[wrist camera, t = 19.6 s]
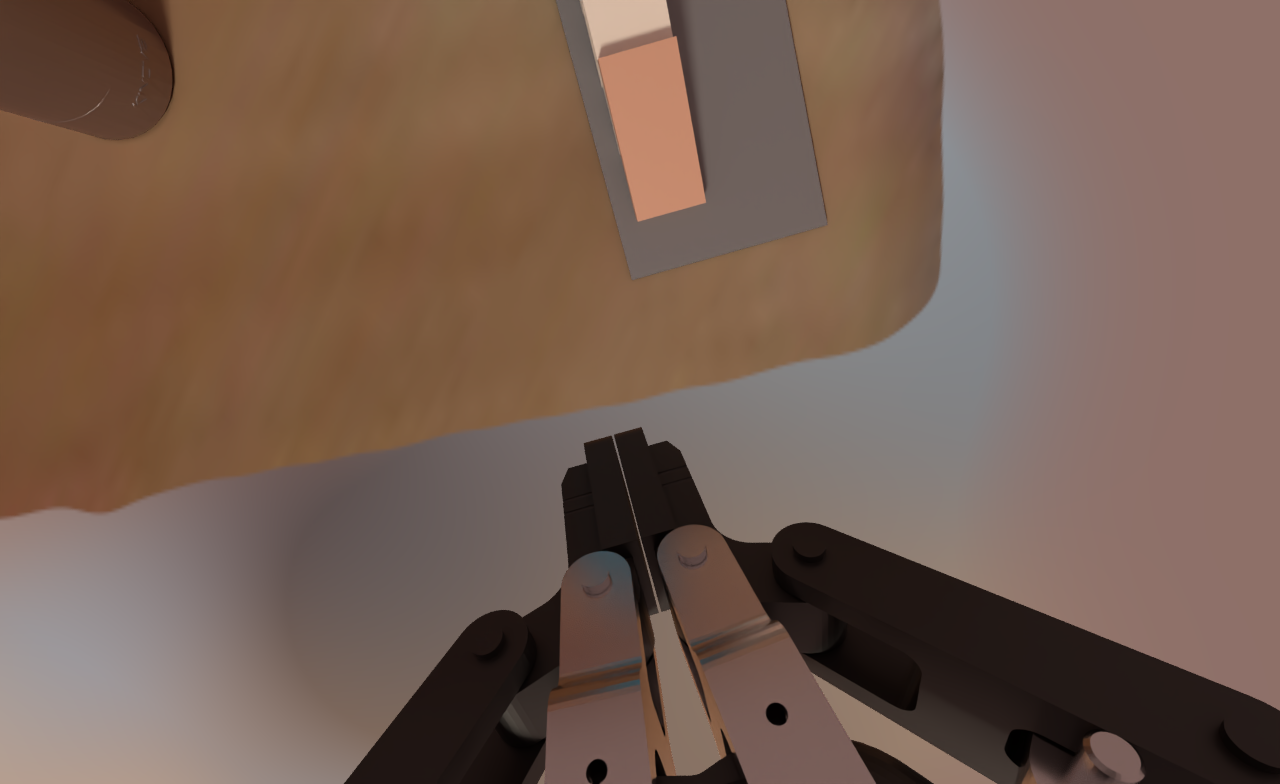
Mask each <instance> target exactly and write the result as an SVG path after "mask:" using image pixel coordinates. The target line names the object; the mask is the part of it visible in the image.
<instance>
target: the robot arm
mask: <svg viewBox="0 0 1280 784" xmlns="http://www.w3.org/2000/svg"><path fill="white" fill-rule="evenodd" d="M171 91H172V68H171V64H170V60H169V55H168V53H167V50H166V48H165V46H164V43H163V41H162V39H161V37H160V36H159V34H158V32H157V31H156V29H155V28H154V26H153V25H152V23H151V22H150V21H149V20H148V19H147V18H146V17H145V16H144V15H143V14H142V13H141V12H140V11H139V10H138V9H137V8H135V7H134V6H133V5H131V4H130V3H129V2H127V1H126V0H0V110H2V111H6V112H10V113H13V114H17V115H20V116H24V117H27V118H30V119H33V120H37V121H41V122H44V123H48V124H52V125H55V126H59V127H63V128H66V129H70V130H74V131H77V132H81V133H85V134H88V135H92V136H95V137H99V138H103V139H112V140H122V139H128V138H134V137H136V136H138V135H141V134H143V133H145V132H147V131H148V130H149V129H150V128H152V127H153V126H154V125H156V124H157V122H158V121H159V120H160V118H161V117H162V116H163V114H164V113H165V111H166V108H167V106H168V104H169V101H170V97H171ZM614 437H615V441H616V444H617V448H618V452H619V456H620V459H621V464H622V467H623V471H624V475H625V479H626V483H627V487H628V490H629V494H630V498H631V502H632V506H633V509H634V513H635V517H636V521H637V525H638V529H639V532H640V536H641V540H642V544H643V547H644V551H645V554H646V558H647V562H648V565H649V569H650V572H651V576H652V579H653V583H654V586H655V590H656V594H657V597H658V601H659V604H660V608H661V611H666V610H669V609H670V610H671V614H672V617H673V621H674V624H675V628H676V631H677V635H678V639H679V643H680V646H681V649H682V652H683V654H684V657H685V659H686V662H687V665H688V668H689V670H690V673H691V676H692V679H693V681H694V684H695V687H696V689H697V692H698V694H699V697H700V700H701V703H702V706H703V708H704V711H705V714H706V717H707V719H708V722H709V724H710V727H711V730H712V733H713V736H714V739H715V741H716V745H717V748H718V752H719V755H720V758H721V760H719V761H718V762H716V763H715V764H714V765H712V766H711V767H709V768H708V769H706V770H705V771H704V772H702V773H700V774H697V775H692V776H677V775H676V770H675V766H674V761H673V757H672V752H671V747H670V742H669V736H668V729H667V722H666V716H665V710H664V703H663V696H662V689H661V683H660V676H659V670H658V663H657V657H656V651H655V648H654V644H655V639H654V633H653V629H652V625H651V620H650V615H653V614H657V613H658V609H657V605H656V601H655V597H654V593H653V589H652V585H651V581H650V578H649V574H648V570H647V566H646V562H645V558H644V554H643V550H642V547H641V543H640V539H639V535H638V531H637V527H636V523H635V519H634V515H633V511H632V508H631V504H630V500H629V496H628V492H627V489H626V485H625V481H624V478H623V474H622V471H621V467H620V464H619V460H618V456H617V453H616V450H615V446H614V442H613V439H612V436H608V437H605V438H601V439H598V440H594V441H590V442H586V443H584V447H585V454H586V460H587V463H586V464H583V465H579V466H575V467H572V468H569V469H568V470H567V473H566V475H565V477H564V480H563V482H562V485H561V486H562V496H563V508H564V515H565V516H564V519H565V530H566V540H567V553H568V564H569V565H568V568H569V569H568V570H567V571H566V573H565V575H564V577H563V580H562V584H561V588H560V590H559V591H558V592H557V593H556V595H555V596H553V597H552V598H551V599H550V600H549V601H548V602H546V603H545V604H543V605H542V606H540V607H539V608H537V609H535V610H534V611H532V612H531V613H529V614H527V615H526V616H524V617H523V618H522V617H521V616H520V615H518V614H517V613H515V612H513V611H509V610H499V611H494V612H490V613H488V614H485V615H483V616H481V617H480V618H478V619H477V620H475V621H474V622H472V623H471V624H470V625H469V626H468V627H467V628H466V629H465V630H464V631H463V633H462V634H461V635H460V636H459V638H458V639H457V640H456V642H455V643H454V644H453V645H452V647H451V648H450V649H449V650H448V652H447V653H446V654H445V656H444V657H443V658H442V659H441V661H440V662H439V663H438V665H437V666H436V667H435V669H434V670H433V671H432V672H431V673H430V675H429V676H428V677H427V678H426V680H425V681H424V682H423V684H422V685H421V686H420V687H419V689H418V690H417V691H416V693H415V694H414V695H413V696H412V698H411V699H410V700H409V702H408V703H407V704H406V705H405V707H404V708H403V709H402V710H401V712H400V713H399V714H398V715H397V717H396V718H395V719H394V721H393V722H392V723H391V724H390V726H389V727H388V728H387V729H386V731H385V732H384V733H383V735H382V736H381V737H380V738H379V740H378V741H377V742H376V743H375V745H374V746H373V747H372V749H371V750H370V751H369V752H368V754H367V755H366V756H365V757H364V759H363V760H362V761H361V763H360V764H359V765H358V766H357V768H356V769H355V770H354V772H353V773H352V774H351V775H350V777H349V778H348V779H347V781H346V782H345V783H344V784H537V783H538V781H539V779H540V777H541V776H542V774H543V772H544V770H545V784H933V783H932V782H930V781H929V780H927V779H926V778H924V777H923V776H922V775H920V774H919V773H917V772H916V771H914V770H913V769H911V768H910V767H908V766H907V765H905V764H904V763H902V762H901V761H899V760H898V759H896V758H894V757H892V756H890V755H888V754H887V753H884V752H883V751H881V750H879V749H877V748H874V747H871V746H869V745H866V744H864V743H861V742H857V741H853V740H850V738H849V737H848V735H847V733H846V731H845V730H844V728H843V726H842V724H841V723H840V721H839V719H838V718H837V716H836V714H835V713H834V711H833V709H832V707H831V706H830V704H829V702H828V701H827V699H826V697H825V695H824V694H823V692H822V690H821V689H820V687H819V685H818V683H817V682H816V680H815V679H814V677H813V675H812V673H814V674H815V675H817V676H818V677H820V678H822V679H823V680H825V681H827V682H829V683H830V684H832V685H834V686H835V687H837V688H838V689H840V690H842V691H844V692H845V693H847V694H848V695H850V696H852V697H854V698H855V699H857V700H859V701H860V702H862V703H864V704H865V705H867V706H868V707H870V708H872V709H873V710H875V711H877V712H879V713H880V714H882V715H884V716H885V717H887V718H889V719H891V720H892V721H894V722H895V723H897V724H899V725H900V726H902V727H904V728H906V729H907V730H909V731H910V732H912V733H914V734H915V735H917V736H919V737H921V738H922V739H924V740H925V741H927V742H929V743H930V744H932V745H934V746H935V747H937V748H939V749H940V750H942V751H944V752H946V753H947V754H949V755H951V756H952V757H954V758H956V759H957V760H959V761H960V762H962V763H964V764H965V765H967V766H969V767H971V768H972V769H974V770H976V771H977V772H979V773H981V774H982V775H984V776H986V777H987V778H989V779H991V780H992V781H994V782H996V783H997V784H1280V711H1279V710H1277V709H1276V708H1274V707H1272V706H1270V705H1268V704H1266V703H1264V702H1262V701H1260V700H1257V699H1255V698H1253V697H1251V696H1249V695H1246V694H1243V693H1241V692H1239V691H1236V690H1233V689H1231V688H1229V687H1226V686H1224V685H1221V684H1219V683H1216V682H1213V681H1211V680H1208V679H1206V678H1204V677H1201V676H1198V675H1196V674H1193V673H1191V672H1188V671H1186V670H1184V669H1181V668H1179V667H1176V666H1174V665H1171V664H1169V663H1166V662H1164V661H1161V660H1159V659H1156V658H1154V657H1151V656H1149V655H1146V654H1144V653H1141V652H1139V651H1136V650H1134V649H1131V648H1129V647H1126V646H1123V645H1121V644H1119V643H1116V642H1114V641H1111V640H1109V639H1106V638H1103V637H1101V636H1098V635H1096V634H1094V633H1091V632H1088V631H1086V630H1084V629H1081V628H1079V627H1076V626H1074V625H1071V624H1069V623H1066V622H1064V621H1061V620H1059V619H1056V618H1054V617H1051V616H1049V615H1046V614H1044V613H1041V612H1039V611H1036V610H1033V609H1031V608H1029V607H1026V606H1024V605H1021V604H1018V603H1016V602H1014V601H1011V600H1009V599H1006V598H1004V597H1001V596H999V595H996V594H993V593H991V592H989V591H986V590H983V589H981V588H979V587H976V586H974V585H971V584H969V583H966V582H964V581H961V580H959V579H956V578H954V577H951V576H949V575H946V574H944V573H941V572H939V571H936V570H934V569H931V568H929V567H926V566H924V565H921V564H919V563H916V562H914V561H911V560H909V559H906V558H904V557H901V556H899V555H896V554H894V553H891V552H889V551H886V550H884V549H881V548H879V547H876V546H874V545H871V544H869V543H866V542H864V541H861V540H859V539H856V538H854V537H851V536H849V535H846V534H844V533H841V532H839V531H836V530H834V529H831V528H829V527H826V526H823V525H820V524H816V523H807V522H805V523H797V524H792V525H790V526H787V527H785V528H783V529H782V530H781V531H780V532H778V533H777V535H776V536H775V537H774V539H773V541H772V543H745V542H739V541H735V540H732V539H730V538H728V537H726V536H724V535H723V534H721V533H720V532H719V531H718V530H717V529H716V528H715V527H714V525H713V524H712V522H711V520H710V518H709V515H708V513H707V511H706V508H705V506H704V504H703V502H702V499H701V497H700V495H699V492H698V490H697V488H696V486H695V483H694V481H693V479H692V477H691V474H690V472H689V470H688V468H687V465H686V463H685V460H684V458H683V456H682V454H681V451H680V450H679V449H677V448H676V447H675V446H673V445H672V444H671V443H669V442H668V441H664V442H660V443H657V444H653V445H650V446H648V444H647V442H646V439H645V436H644V433H643V430H642V428H641V427H640V428H636V429H633V430H629V431H626V432H622V433H618V434H615V435H614ZM811 672H812V673H811Z"/></svg>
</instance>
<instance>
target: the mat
mask: <svg viewBox="0 0 1280 784" xmlns="http://www.w3.org/2000/svg"><path fill="white" fill-rule="evenodd" d="M666 2H667V8H668V13H669V19H670V24H671V30H672V35H673V37H675V36H677V42H678V48H679V53H680V59H681V65H682V70H683V76H684V81H685V87H686V93H687V98H688V104H689V109H690V115H691V121H692V126H693V132H694V138H695V143H696V149H697V154H698V160H699V166H700V171H701V177H702V182H703V188H704V194H705V199H706V203H703V204H700V205H696V206H692V207H689V208H685V209H682V210H678V211H674V212H671V213H667V214H664V215H660V216H657V217H653V218H649V219H646V220H642V221H639V222H638V221H637V220H636V216H635V212H634V208H633V204H632V200H631V196H630V192H629V188H628V183H627V179H626V175H625V171H624V167H623V163H622V159H621V155H620V154H619V150H618V146H617V142H616V138H615V134H614V130H613V125H612V121H611V117H610V113H609V109H608V105H607V101H606V97H605V93H604V89H603V87H602V86H601V82H600V78H599V74H598V70H597V66H596V62H595V58H594V54H593V50H592V46H591V42H590V38H589V34H588V30H587V26H586V22H585V18H584V14H583V13H582V9H581V4H580V0H556V3H557V6H558V10H559V14H560V17H561V21H562V25H563V28H564V32H565V36H566V39H567V43H568V47H569V50H570V54H571V58H572V61H573V65H574V69H575V72H576V76H577V80H578V83H579V87H580V91H581V94H582V98H583V102H584V105H585V109H586V113H587V116H588V120H589V124H590V127H591V131H592V135H593V138H594V142H595V146H596V150H597V153H598V157H599V161H600V164H601V168H602V172H603V175H604V179H605V183H606V186H607V190H608V194H609V197H610V201H611V205H612V208H613V212H614V216H615V219H616V223H617V227H618V230H619V234H620V238H621V241H622V245H623V249H624V252H625V256H626V260H627V263H628V267H629V271H630V274H631V278H632V280H634V279H638V278H641V277H645V276H648V275H652V274H655V273H659V272H663V271H666V270H670V269H673V268H677V267H680V266H684V265H687V264H691V263H694V262H698V261H702V260H705V259H709V258H712V257H716V256H719V255H723V254H726V253H730V252H733V251H737V250H741V249H744V248H748V247H751V246H755V245H758V244H762V243H765V242H769V241H772V240H776V239H779V238H783V237H787V236H790V235H794V234H797V233H801V232H804V231H808V230H811V229H815V228H818V227H822V226H826V225H827V219H826V214H825V209H824V203H823V198H822V193H821V187H820V182H819V176H818V171H817V166H816V160H815V155H814V150H813V144H812V139H811V134H810V128H809V123H808V118H807V112H806V107H805V102H804V96H803V91H802V86H801V80H800V75H799V70H798V64H797V59H796V54H795V48H794V43H793V38H792V32H791V27H790V22H789V16H788V11H787V6H786V0H666Z"/></svg>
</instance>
